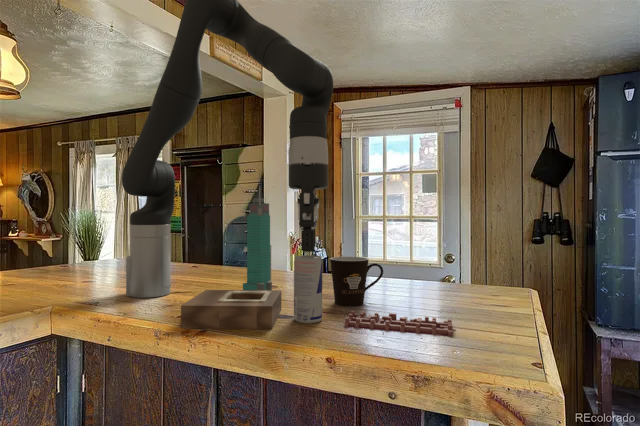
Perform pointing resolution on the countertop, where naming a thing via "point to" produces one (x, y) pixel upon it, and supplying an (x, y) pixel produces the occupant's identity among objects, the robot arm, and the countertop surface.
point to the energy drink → (308, 289)
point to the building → (258, 247)
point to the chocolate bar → (399, 324)
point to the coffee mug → (351, 279)
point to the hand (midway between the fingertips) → (308, 249)
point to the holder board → (232, 309)
